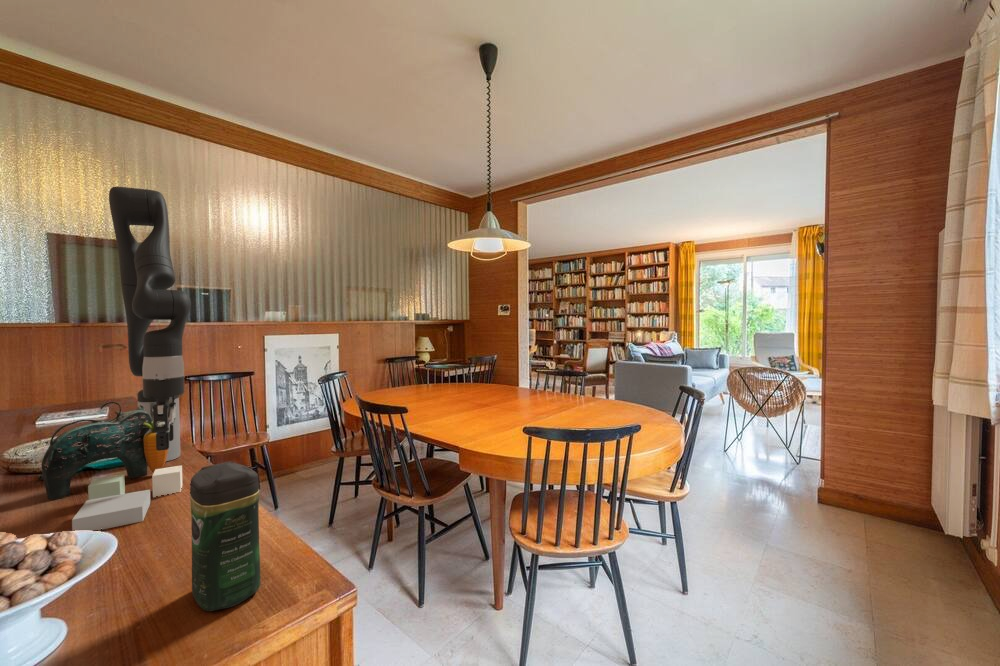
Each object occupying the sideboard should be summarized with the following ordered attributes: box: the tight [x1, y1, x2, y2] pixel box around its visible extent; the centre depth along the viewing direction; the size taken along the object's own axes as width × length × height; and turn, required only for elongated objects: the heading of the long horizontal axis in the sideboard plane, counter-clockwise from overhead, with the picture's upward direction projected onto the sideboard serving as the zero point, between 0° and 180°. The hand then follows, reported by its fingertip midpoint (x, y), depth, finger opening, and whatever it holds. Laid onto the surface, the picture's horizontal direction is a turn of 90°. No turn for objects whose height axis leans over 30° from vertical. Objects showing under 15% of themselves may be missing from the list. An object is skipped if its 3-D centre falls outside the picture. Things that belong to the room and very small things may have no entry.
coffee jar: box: [189, 461, 261, 612], centre depth 61 cm, size 10×8×19 cm
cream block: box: [151, 464, 183, 498], centre depth 98 cm, size 5×5×5 cm
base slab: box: [71, 489, 151, 531], centre depth 84 cm, size 10×10×3 cm
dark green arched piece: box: [41, 401, 152, 501], centre depth 101 cm, size 20×6×20 cm, turn 152°
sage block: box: [87, 473, 126, 500], centre depth 92 cm, size 5×5×5 cm
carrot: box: [143, 421, 168, 474], centre depth 107 cm, size 5×5×15 cm
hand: (165, 445), depth 97 cm, fingers open, 8 cm apart
